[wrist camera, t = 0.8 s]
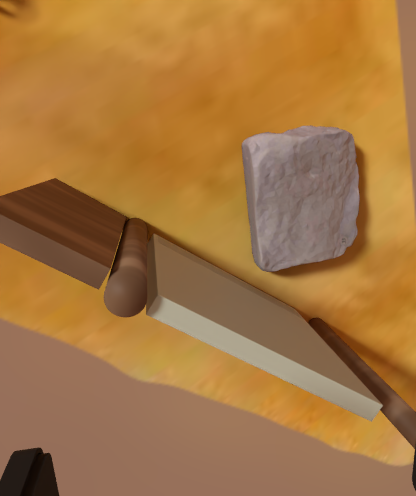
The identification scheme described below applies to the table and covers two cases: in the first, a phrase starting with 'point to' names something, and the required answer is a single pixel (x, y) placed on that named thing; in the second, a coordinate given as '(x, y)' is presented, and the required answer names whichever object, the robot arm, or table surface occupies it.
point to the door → (248, 326)
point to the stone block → (301, 195)
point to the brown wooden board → (132, 266)
